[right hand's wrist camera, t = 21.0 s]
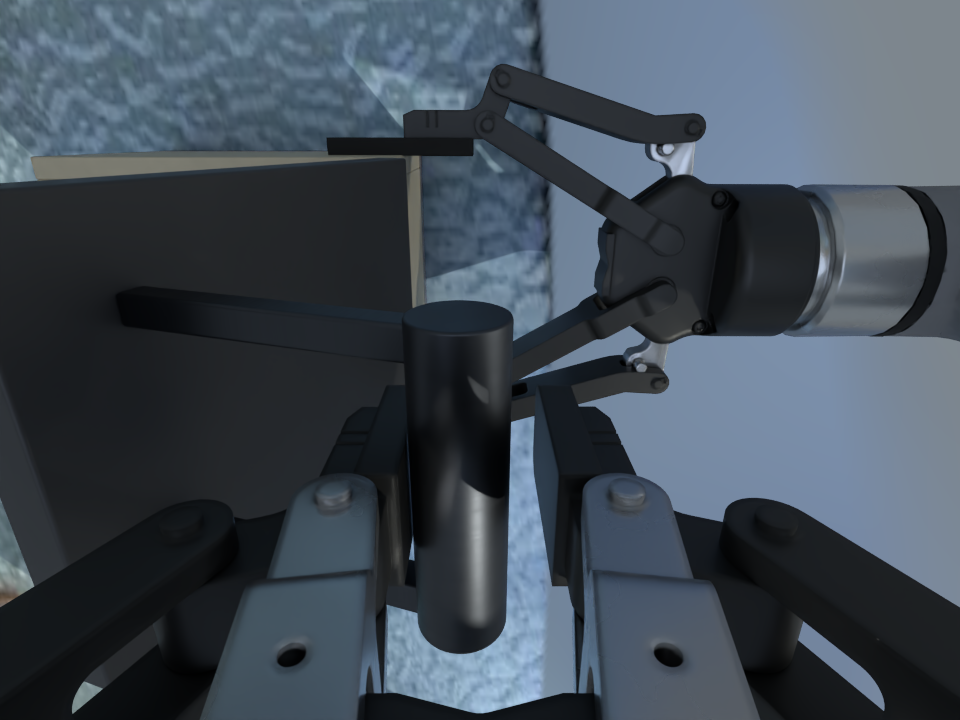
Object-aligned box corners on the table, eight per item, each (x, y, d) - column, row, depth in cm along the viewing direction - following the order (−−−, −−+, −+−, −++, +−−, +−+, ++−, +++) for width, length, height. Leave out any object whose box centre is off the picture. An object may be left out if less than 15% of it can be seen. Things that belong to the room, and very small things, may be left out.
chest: (202, 316, 36) (94, 385, 26) (170, 150, 32) (28, 156, 22) (427, 316, 36) (406, 385, 26) (421, 150, 32) (394, 156, 22)
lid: (67, 677, 12) (459, 830, 9) (-123, 191, 8) (448, 218, 6) (392, 389, 26) (589, 419, 23) (376, 157, 22) (611, 160, 19)
